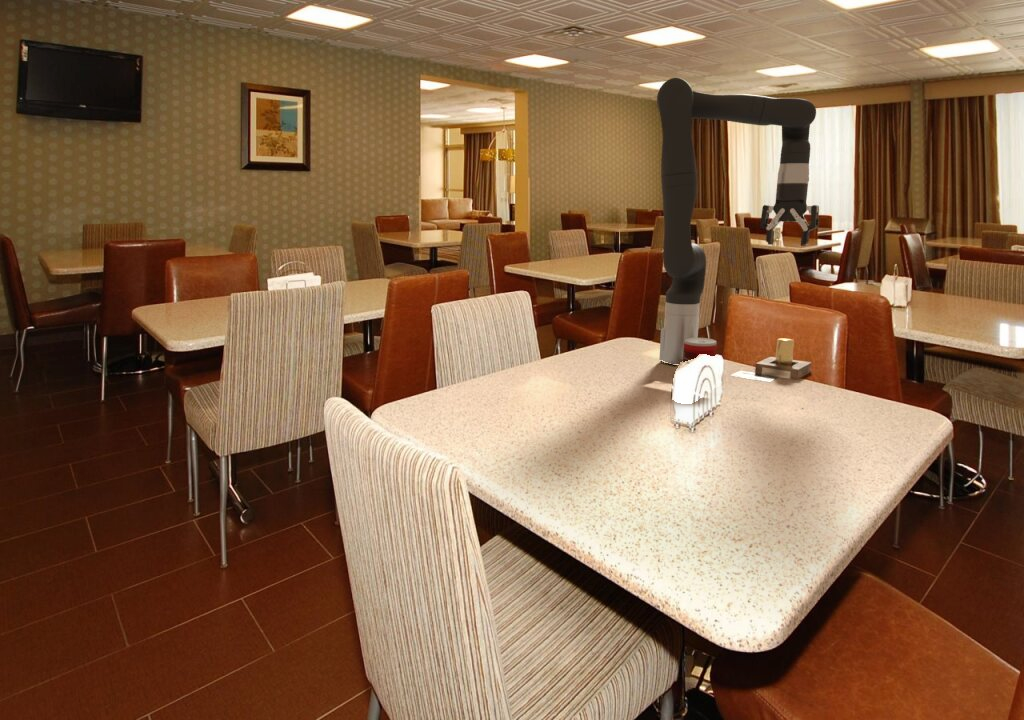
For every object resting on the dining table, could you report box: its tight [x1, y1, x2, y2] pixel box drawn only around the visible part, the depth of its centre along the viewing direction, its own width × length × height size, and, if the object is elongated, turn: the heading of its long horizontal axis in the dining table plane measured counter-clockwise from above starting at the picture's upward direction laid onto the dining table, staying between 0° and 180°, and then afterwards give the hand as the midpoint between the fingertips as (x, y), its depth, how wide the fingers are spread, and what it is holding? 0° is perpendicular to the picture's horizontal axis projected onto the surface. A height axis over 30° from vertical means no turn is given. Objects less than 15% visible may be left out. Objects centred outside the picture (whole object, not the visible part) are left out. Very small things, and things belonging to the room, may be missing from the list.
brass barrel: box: [775, 337, 795, 366], centre depth 172 cm, size 4×4×10 cm
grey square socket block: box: [754, 356, 812, 381], centre depth 173 cm, size 10×11×4 cm
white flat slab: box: [729, 370, 780, 383], centre depth 169 cm, size 10×7×2 cm
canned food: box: [683, 337, 718, 362], centre depth 166 cm, size 8×8×11 cm
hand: (786, 245), depth 179 cm, fingers open, 8 cm apart
